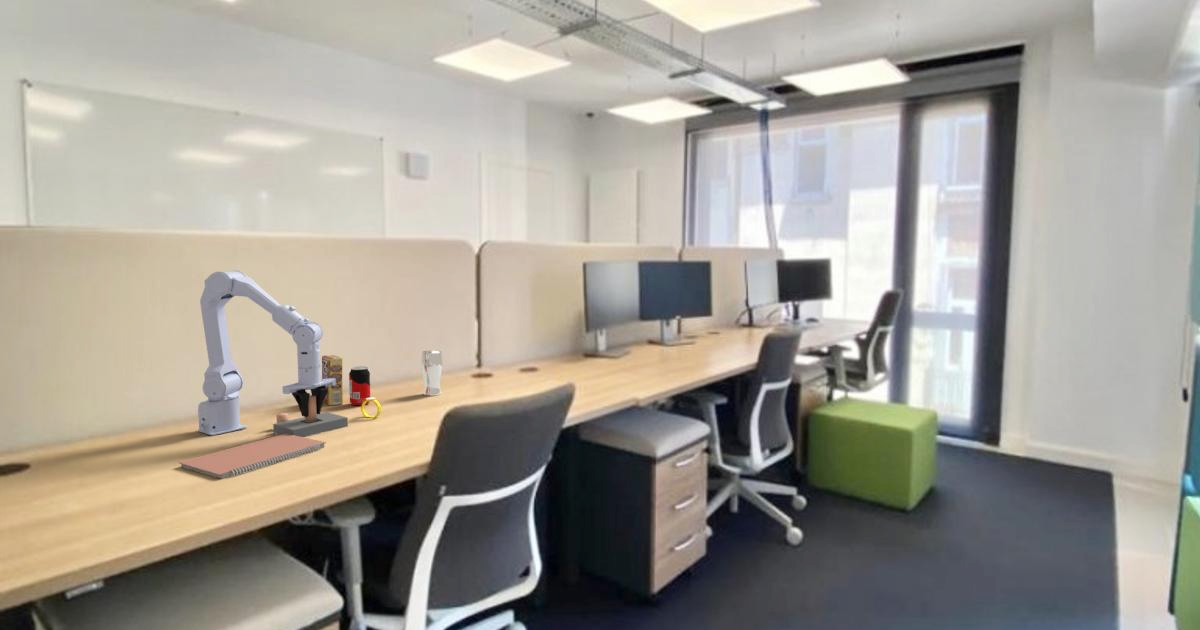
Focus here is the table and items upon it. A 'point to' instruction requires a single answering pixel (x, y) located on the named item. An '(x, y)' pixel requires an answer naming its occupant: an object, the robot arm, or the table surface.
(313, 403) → the long pin
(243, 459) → the notebook
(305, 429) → the hole board
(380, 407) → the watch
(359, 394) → the beverage can
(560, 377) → the table surface
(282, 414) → the short pin
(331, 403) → the candy box
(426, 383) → the beer glass
